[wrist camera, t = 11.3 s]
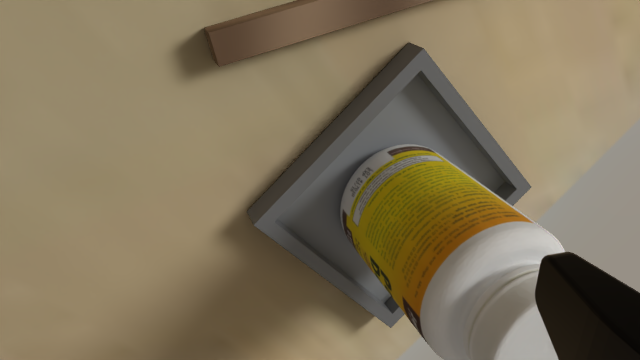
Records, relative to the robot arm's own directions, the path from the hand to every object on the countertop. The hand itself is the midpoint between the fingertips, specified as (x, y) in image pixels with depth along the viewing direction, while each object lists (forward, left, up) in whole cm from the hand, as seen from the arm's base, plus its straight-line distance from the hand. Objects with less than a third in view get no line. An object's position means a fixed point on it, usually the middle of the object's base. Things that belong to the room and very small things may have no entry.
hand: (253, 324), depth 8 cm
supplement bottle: (+3, -11, -13) cm, 17 cm away
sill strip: (+7, -3, -14) cm, 16 cm away
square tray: (+3, -11, -14) cm, 18 cm away
